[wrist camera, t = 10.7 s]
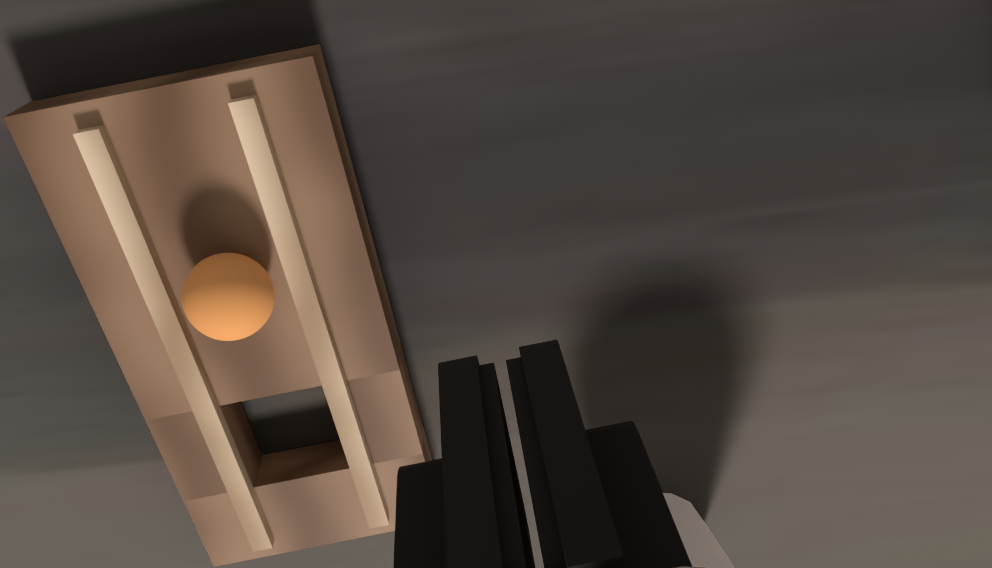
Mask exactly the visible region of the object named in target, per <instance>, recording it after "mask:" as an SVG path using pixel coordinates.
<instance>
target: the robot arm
mask: <svg viewBox="0 0 992 568" xmlns="http://www.w3.org/2000/svg"><path fill="white" fill-rule="evenodd" d="M519 350H520V355H521V357H520V358H515V359H510V360H506V363H507V369H508V374H509V379H510V385H511V390H512V396H513V401H514V406H515V412H516V417H517V423H518V428H519V433H520V439H521V444H522V450H523V455H524V461H525V466H526V471H527V477H528V482H529V488H530V493H531V498H532V504H533V509H534V515H535V520H536V525H537V531H538V536H539V542H540V547H541V552H542V558H543V563H544V568H703V567H692V564H691V562H690V559H689V557H688V554H687V552H686V549H685V547H684V544H683V542H682V539H681V537H680V535H679V532H678V530H677V527H676V525H675V522H674V520H673V517H672V515H671V512H670V510H669V507H668V505H667V502H666V500H665V497H664V495H663V492H662V490H661V487H660V485H659V482H658V480H657V477H656V475H655V472H654V470H653V467H652V465H651V462H650V460H649V457H648V455H647V452H646V450H645V448H644V445H643V443H642V440H641V438H640V435H639V433H638V430H637V428H636V426H635V424H634V423H633V422H632V421H629V422H624V423H619V424H614V425H609V426H604V427H599V428H594V429H588V430H585V428H584V425H583V422H582V418H581V415H580V412H579V408H578V405H577V402H576V399H575V395H574V392H573V389H572V386H571V382H570V379H569V376H568V373H567V369H566V366H565V363H564V360H563V356H562V353H561V350H560V346H559V343H558V340H552V341H547V342H542V343H537V344H532V345H527V346H522V347H519ZM438 375H439V399H440V423H441V447H442V459H437V460H432V461H427V462H421V463H416V464H411V465H406V466H401V467H399V469H398V473H397V489H396V517H395V545H394V568H535V563H534V557H533V552H532V546H531V540H530V534H529V529H528V523H527V518H526V513H525V508H524V503H523V498H522V494H521V489H520V484H519V479H518V475H517V470H516V465H515V460H514V456H513V451H512V446H511V441H510V437H509V432H508V427H507V422H506V418H505V413H504V408H503V403H502V399H501V394H500V389H499V384H498V380H497V375H496V370H495V366H494V363H489V364H484V365H479V362H478V358H477V355H476V356H471V357H466V358H461V359H456V360H451V361H446V362H441V363H439V364H438Z"/></svg>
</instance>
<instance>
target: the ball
mask: <svg viewBox="0 0 992 568" xmlns="http://www.w3.org/2000/svg"><path fill="white" fill-rule="evenodd" d="M274 301H275V293H274V287H273V283H272V281H271V278H270V276H269V275H268V273H267V272H266V270H265V269H264V268H263V267H262V266H261V265H260V264H259V263H258V262H256V261H255V260H253V259H251V258H250V257H247V256H245V255H242V254H237V253H220V254H215V255H212V256H209V257H207V258H205V259H203V260H202V261H200V262H199V263H198V264H197V265H196V266H195V267H194V268H193V269H192V270H191V271H190V272H189V274H188V276H187V277H186V280H185V282H184V285H183V289H182V305H183V309H184V312H185V314H186V317H187V318H188V320H189V322H190V323H191V324H192V325H193V326H194V327H195V328H196V329H197V330H198V331H199V332H201V333H202V334H204V335H206V336H208V337H210V338H213V339H216V340H221V341H234V340H239V339H243V338H246V337H248V336H250V335H252V334H254V333H255V332H257V331H258V330H259V329H260V328H261V327H262V326H263V325H264V324H265V323H266V322H267V320H268V319H269V317H270V315H271V313H272V310H273V307H274Z"/></svg>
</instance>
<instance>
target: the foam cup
mask: <svg viewBox="0 0 992 568" xmlns="http://www.w3.org/2000/svg"><path fill="white" fill-rule="evenodd" d="M663 495H664V497H665V500H666V502H667V505H668V507H669V510H670V512H671V515H672V517H673V520H674V522H675V525H676V527H677V530H678V532H679V535H680V537H681V539H682V542H683V544H684V547H685V549H686V552H687V554H688V557H689V559H690V562H691V564H692V567H703V568H734V566H733V565H732V563H731V561H730V560H729V558H728V557H727V555H726V554H725V552H724V551H723V549H722V548H721V546H720V545H719V543H718V542H717V540H716V539H715V537H714V536H713V534H712V533H711V531H710V530H709V528H708V527H707V525H706V524H705V522H704V521H703V519H702V518H701V516H700V515H699V514H698V512H697V511H696V509H695V508H694V506H693V505H692V504H691V502H689V501H687V500H685V499H683V498H681V497H678V496H676V495H674V494H672V493H663Z"/></svg>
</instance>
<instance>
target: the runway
mask: <svg viewBox="0 0 992 568" xmlns="http://www.w3.org/2000/svg"><path fill="white" fill-rule="evenodd" d="M3 118H4V120H5V122H6V124H7V126H8V128H9V130H10V133H11V135H12V137H13V139H14V141H15V143H16V145H17V148H18V150H19V152H20V154H21V156H22V158H23V160H24V162H25V165H26V167H27V169H28V171H29V173H30V175H31V177H32V180H33V182H34V184H35V186H36V188H37V190H38V192H39V194H40V197H41V199H42V201H43V203H44V205H45V207H46V209H47V212H48V214H49V216H50V218H51V220H52V222H53V224H54V226H55V229H56V231H57V233H58V235H59V237H60V239H61V241H62V244H63V246H64V248H65V250H66V252H67V254H68V256H69V258H70V261H71V263H72V265H73V267H74V269H75V271H76V273H77V276H78V278H79V280H80V282H81V284H82V286H83V288H84V290H85V293H86V295H87V297H88V299H89V301H90V303H91V305H92V308H93V310H94V312H95V314H96V316H97V318H98V320H99V322H100V325H101V327H102V329H103V331H104V333H105V335H106V337H107V340H108V342H109V344H110V346H111V348H112V350H113V352H114V354H115V357H116V359H117V361H118V363H119V365H120V367H121V369H122V372H123V374H124V376H125V378H126V380H127V382H128V384H129V386H130V389H131V391H132V393H133V395H134V397H135V399H136V401H137V403H138V406H139V408H140V410H141V412H142V414H143V416H144V418H145V421H146V423H147V425H148V427H149V429H150V431H151V433H152V435H153V438H154V440H155V442H156V444H157V446H158V448H159V450H160V453H161V455H162V457H163V459H164V461H165V463H166V465H167V467H168V470H169V472H170V474H171V476H172V478H173V480H174V482H175V485H176V487H177V489H178V491H179V493H180V495H181V497H182V499H183V502H184V504H185V506H186V508H187V510H188V512H189V514H190V517H191V519H192V521H193V523H194V525H195V527H196V529H197V531H198V534H199V536H200V538H201V540H202V542H203V544H204V546H205V549H206V551H207V553H208V555H209V557H210V559H211V561H212V563H213V566H214V567H215V566H220V565H225V564H230V563H235V562H240V561H245V560H250V559H255V558H260V557H265V556H270V555H275V554H280V553H285V552H290V551H295V550H300V549H305V548H310V547H315V546H320V545H325V544H331V543H336V542H341V541H346V540H351V539H356V538H361V537H366V536H371V535H376V534H381V533H386V532H391V531H395V517H396V489H397V473H398V469H399V467H401V466H406V465H411V464H416V463H421V462H427V461H432V457H431V453H430V449H429V446H428V442H427V438H426V434H425V431H424V427H423V423H422V420H421V416H420V412H419V409H418V405H417V401H416V398H415V394H414V390H413V386H412V383H411V379H410V375H409V372H408V368H407V364H406V361H405V357H404V353H403V350H402V346H401V342H400V338H399V335H398V331H397V327H396V324H395V320H394V316H393V313H392V309H391V305H390V302H389V298H388V294H387V290H386V287H385V283H384V279H383V276H382V272H381V268H380V265H379V261H378V257H377V254H376V250H375V246H374V242H373V239H372V235H371V231H370V228H369V224H368V220H367V217H366V213H365V209H364V206H363V202H362V198H361V194H360V191H359V187H358V183H357V180H356V176H355V172H354V169H353V165H352V161H351V158H350V154H349V150H348V146H347V143H346V139H345V135H344V132H343V128H342V124H341V121H340V117H339V113H338V110H337V106H336V102H335V98H334V95H333V91H332V87H331V84H330V80H329V76H328V73H327V69H326V65H325V62H324V58H323V54H322V50H321V47H320V44H318V45H313V46H308V47H303V48H298V49H293V50H288V51H283V52H278V53H273V54H268V55H263V56H258V57H253V58H248V59H243V60H238V61H232V62H227V63H222V64H217V65H212V66H207V67H202V68H197V69H192V70H187V71H182V72H177V73H172V74H167V75H162V76H157V77H152V78H147V79H142V80H137V81H132V82H127V83H122V84H117V85H111V86H106V87H101V88H96V89H91V90H86V91H81V92H76V93H71V94H66V95H61V96H56V97H51V98H46V99H41V100H36V101H31V102H29V103H28V104H26V105H24V106H22V107H21V108H19V109H17V110H15V111H14V112H12V113H10V114H8V115H6V116H5V117H3ZM220 253H237V254H242V255H245V256H247V257H250V258H251V259H253V260H255V261H256V262H258V263H259V264H260V265H261V266H262V267H263V268H264V269H265V270H266V272H267V273H268V275H269V276H270V278H271V281H272V283H273V287H274V293H275V301H274V307H273V310H272V313H271V315H270V317H269V319H268V320H267V322H266V323H265V324H264V325H263V326H262V327H261V328H260V329H259V330H258V331H257V332H255V333H254V334H252V335H250V336H248V337H246V338H243V339H239V340H234V341H221V340H216V339H213V338H210V337H208V336H206V335H204V334H202V333H201V332H199V331H198V330H197V329H196V328H195V327H194V326H193V325H192V324H191V323H190V322H189V320H188V318H187V317H186V314H185V312H184V309H183V305H182V289H183V285H184V282H185V280H186V277H187V276H188V274H189V272H190V271H191V270H192V269H193V268H194V267H195V266H196V265H197V264H198V263H199V262H200V261H202V260H203V259H205V258H207V257H209V256H212V255H215V254H220ZM317 386H322V387H323V390H324V393H325V396H326V399H327V402H328V405H329V408H330V411H331V414H332V417H333V420H334V423H335V426H336V429H337V432H338V435H339V438H340V440H336V441H331V442H326V443H321V444H316V445H311V446H306V447H301V448H296V449H291V450H286V451H281V452H276V453H270V454H265V455H262V454H261V451H260V449H259V446H258V444H257V441H256V439H255V436H254V434H253V431H252V429H251V426H250V424H249V421H248V418H247V416H246V413H245V411H244V408H243V406H242V403H241V401H246V400H251V399H256V398H261V397H266V396H272V395H277V394H282V393H287V392H292V391H297V390H302V389H307V388H312V387H317Z"/></svg>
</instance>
